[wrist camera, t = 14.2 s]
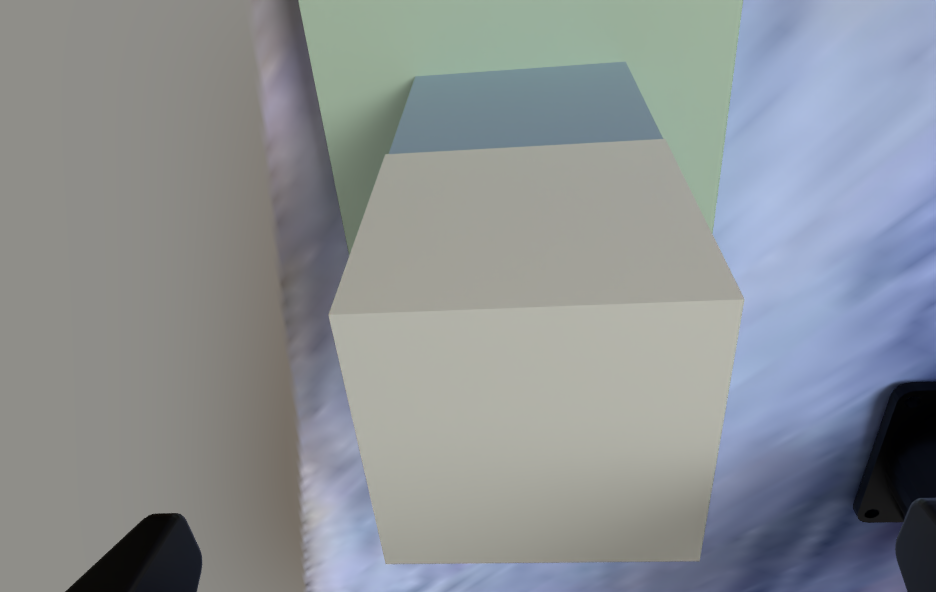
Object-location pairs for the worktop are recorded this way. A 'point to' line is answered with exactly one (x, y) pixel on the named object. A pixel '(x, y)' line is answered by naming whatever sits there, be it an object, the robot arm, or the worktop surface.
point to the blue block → (524, 109)
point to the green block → (517, 47)
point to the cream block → (537, 354)
